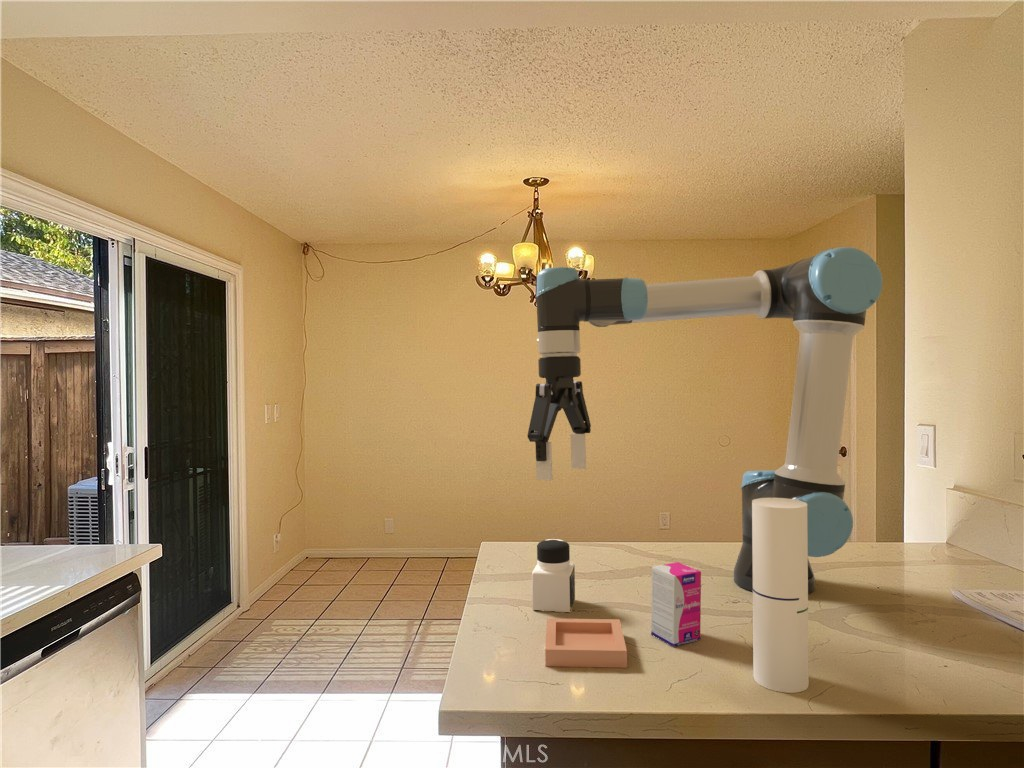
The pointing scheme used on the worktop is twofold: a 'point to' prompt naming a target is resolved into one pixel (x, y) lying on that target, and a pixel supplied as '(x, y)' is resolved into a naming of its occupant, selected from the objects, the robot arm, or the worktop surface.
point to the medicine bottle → (553, 577)
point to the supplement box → (676, 603)
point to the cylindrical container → (780, 594)
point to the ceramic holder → (585, 643)
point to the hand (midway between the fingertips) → (562, 474)
